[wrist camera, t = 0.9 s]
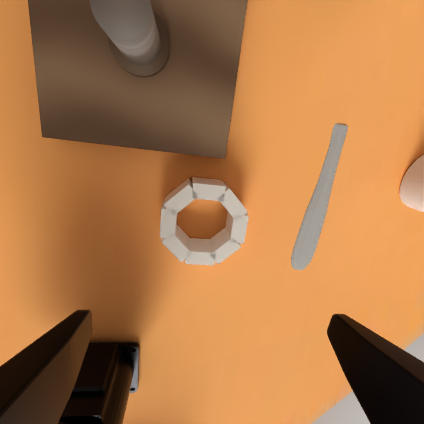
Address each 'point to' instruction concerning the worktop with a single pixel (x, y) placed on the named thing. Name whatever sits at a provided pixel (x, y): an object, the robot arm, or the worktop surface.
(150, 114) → the peg stand
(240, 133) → the worktop surface
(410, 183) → the grey bullet shape
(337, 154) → the butter knife
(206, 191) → the ring
